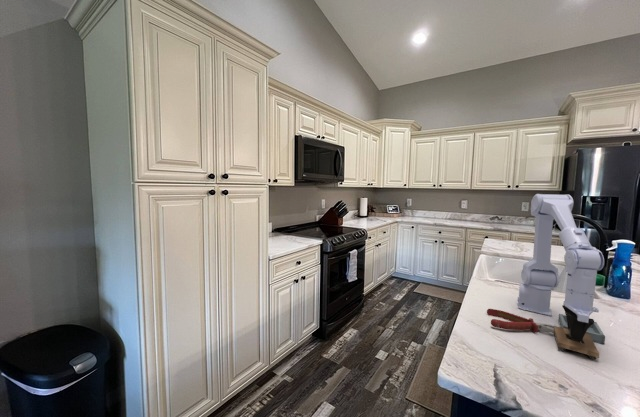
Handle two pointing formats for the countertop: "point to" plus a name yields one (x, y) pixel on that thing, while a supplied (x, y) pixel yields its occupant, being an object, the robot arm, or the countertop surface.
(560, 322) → the tray
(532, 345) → the countertop surface
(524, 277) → the robot arm
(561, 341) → the brown frame
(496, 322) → the pliers
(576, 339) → the stop pin
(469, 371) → the countertop surface
